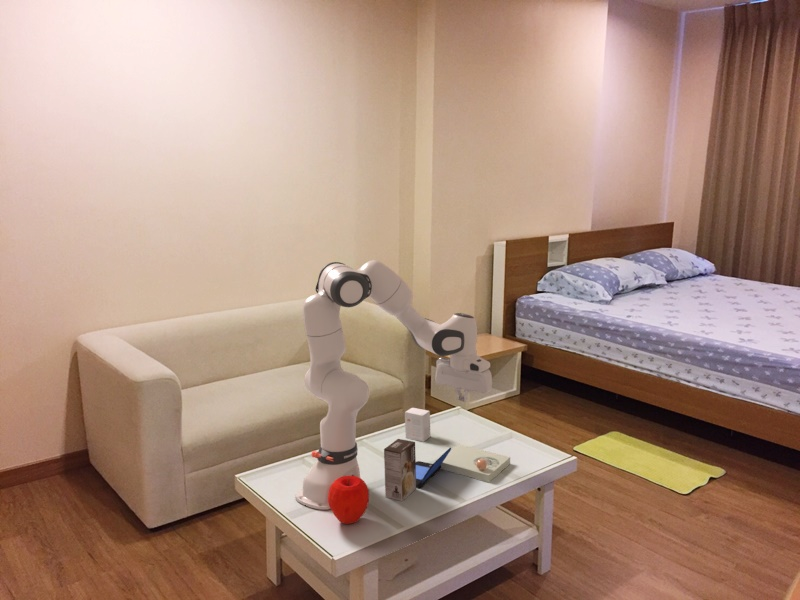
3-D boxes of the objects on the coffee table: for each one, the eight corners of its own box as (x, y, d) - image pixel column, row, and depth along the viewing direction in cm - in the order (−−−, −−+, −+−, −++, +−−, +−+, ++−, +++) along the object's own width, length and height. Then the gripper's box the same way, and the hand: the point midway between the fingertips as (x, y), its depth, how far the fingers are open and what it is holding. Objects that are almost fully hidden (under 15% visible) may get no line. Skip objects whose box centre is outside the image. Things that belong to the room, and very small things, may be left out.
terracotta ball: (483, 472, 208) (483, 462, 207) (474, 470, 210) (474, 460, 209) (488, 468, 211) (488, 458, 210) (479, 466, 213) (479, 456, 212)
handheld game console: (417, 464, 221) (416, 439, 219) (452, 472, 215) (452, 446, 213) (395, 483, 207) (394, 456, 206) (432, 492, 201) (432, 465, 199)
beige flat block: (488, 482, 206) (488, 475, 206) (435, 467, 218) (435, 460, 217) (510, 463, 219) (510, 457, 219) (459, 450, 230) (459, 444, 230)
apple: (341, 537, 177) (340, 492, 174) (321, 519, 186) (319, 476, 183) (377, 523, 183) (376, 480, 181) (355, 506, 193) (354, 465, 190)
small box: (430, 437, 243) (430, 410, 241) (423, 442, 238) (423, 415, 236) (412, 432, 247) (412, 406, 245) (405, 437, 242) (404, 411, 240)
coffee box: (399, 484, 206) (398, 437, 203) (416, 488, 203) (416, 441, 200) (384, 497, 198) (383, 448, 195) (402, 501, 195) (401, 452, 192)
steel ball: (488, 470, 213) (485, 460, 213) (480, 471, 215) (476, 461, 215) (493, 466, 216) (490, 456, 216) (485, 468, 218) (481, 458, 218)
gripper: (431, 358, 217) (431, 397, 219) (486, 368, 206) (484, 409, 208) (441, 354, 222) (441, 392, 225) (494, 363, 211) (493, 403, 213)
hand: (462, 400), depth 216 cm, fingers closed
